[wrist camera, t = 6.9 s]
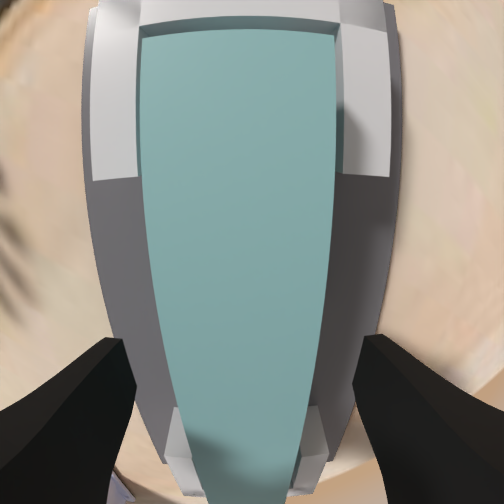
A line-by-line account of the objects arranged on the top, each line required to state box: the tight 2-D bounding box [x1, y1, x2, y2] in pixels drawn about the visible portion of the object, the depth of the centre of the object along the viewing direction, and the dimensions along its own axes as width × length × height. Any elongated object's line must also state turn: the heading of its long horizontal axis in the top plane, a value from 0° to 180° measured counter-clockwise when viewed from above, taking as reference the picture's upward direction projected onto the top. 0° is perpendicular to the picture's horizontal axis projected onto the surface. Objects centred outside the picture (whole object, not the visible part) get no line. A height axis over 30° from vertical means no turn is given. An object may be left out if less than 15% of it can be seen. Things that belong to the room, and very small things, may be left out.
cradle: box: [81, 0, 402, 497], centre depth 10 cm, size 24×11×4 cm, turn 0°
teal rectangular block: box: [140, 29, 336, 504], centre depth 9 cm, size 16×3×5 cm, turn 0°
